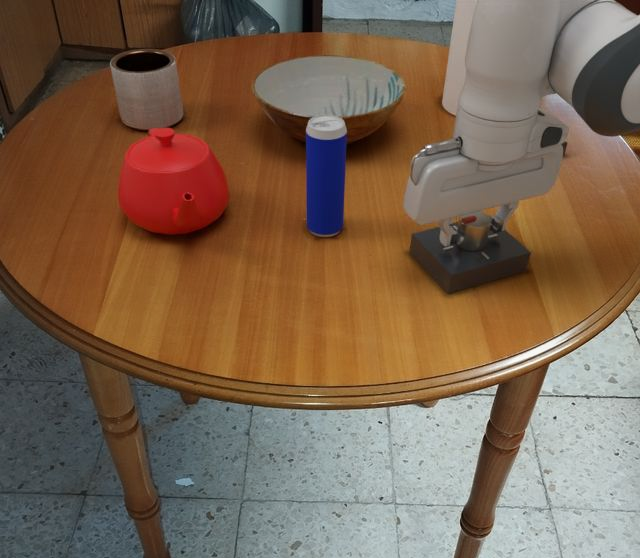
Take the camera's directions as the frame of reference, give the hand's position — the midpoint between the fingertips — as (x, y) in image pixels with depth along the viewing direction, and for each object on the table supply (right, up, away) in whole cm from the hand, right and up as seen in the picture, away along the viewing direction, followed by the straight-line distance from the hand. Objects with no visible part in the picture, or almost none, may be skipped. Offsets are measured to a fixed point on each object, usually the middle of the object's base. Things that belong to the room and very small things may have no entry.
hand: (471, 236), depth 87 cm
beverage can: (-19, +3, +8) cm, 21 cm away
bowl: (-18, +26, +28) cm, 42 cm away
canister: (+9, +34, +36) cm, 50 cm away
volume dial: (0, -1, +1) cm, 1 cm away
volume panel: (0, -3, +3) cm, 4 cm away
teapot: (-40, +5, +10) cm, 41 cm away
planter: (-49, +29, +31) cm, 65 cm away
